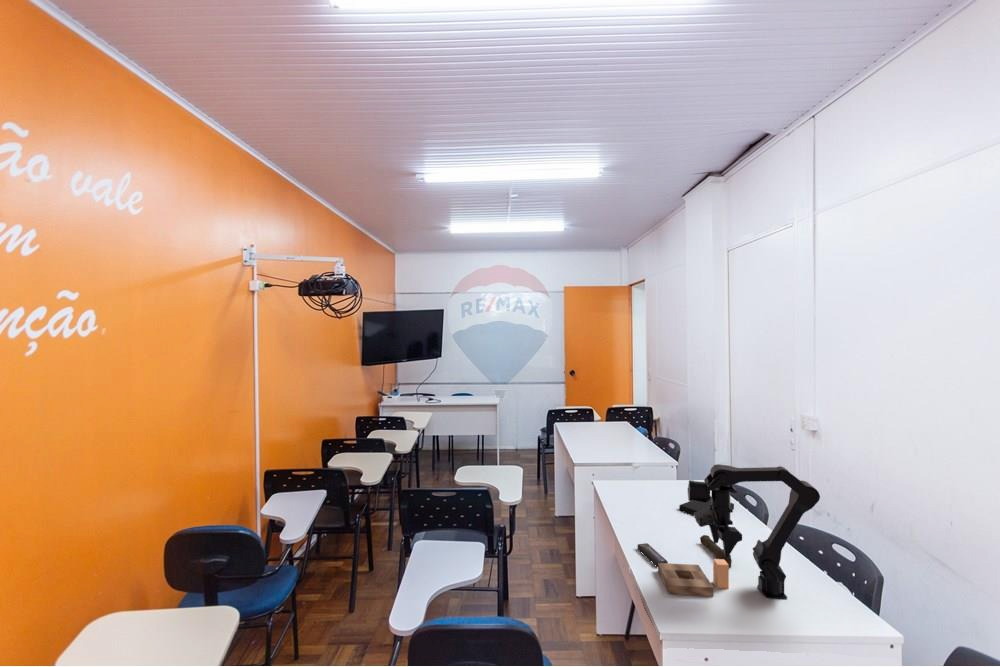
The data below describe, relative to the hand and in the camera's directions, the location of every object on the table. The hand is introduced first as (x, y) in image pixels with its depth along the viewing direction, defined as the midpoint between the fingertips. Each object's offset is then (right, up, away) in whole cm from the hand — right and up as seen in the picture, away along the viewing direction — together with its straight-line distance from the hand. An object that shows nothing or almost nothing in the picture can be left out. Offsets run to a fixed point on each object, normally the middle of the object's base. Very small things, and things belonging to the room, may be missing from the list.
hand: (721, 549), depth 150 cm
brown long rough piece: (+9, -13, +20) cm, 26 cm away
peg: (0, -12, 0) cm, 12 cm away
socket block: (-12, -12, +1) cm, 17 cm away
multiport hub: (-17, -13, +19) cm, 28 cm away
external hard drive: (+25, -13, +64) cm, 70 cm away
